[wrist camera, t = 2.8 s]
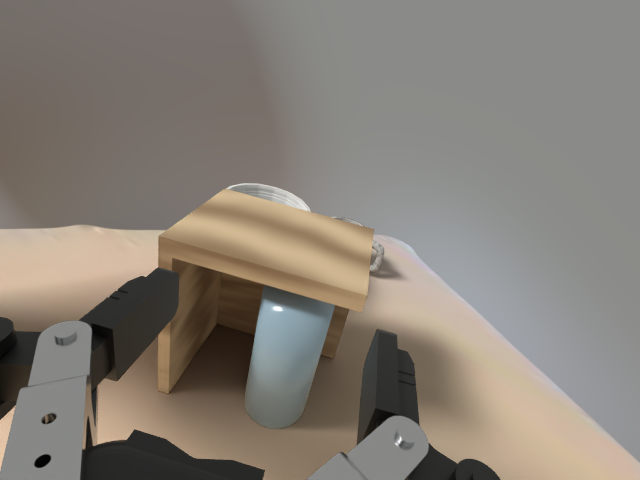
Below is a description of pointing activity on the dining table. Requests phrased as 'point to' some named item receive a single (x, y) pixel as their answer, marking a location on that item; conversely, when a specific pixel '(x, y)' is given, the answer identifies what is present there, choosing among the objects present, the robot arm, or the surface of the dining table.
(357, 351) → the dining table surface
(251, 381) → the light blue piece
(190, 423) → the dining table surface
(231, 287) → the shelf
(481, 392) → the dining table surface
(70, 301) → the dining table surface
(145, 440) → the robot arm
